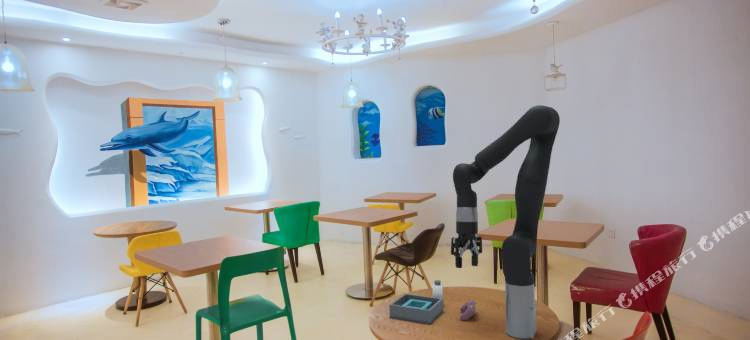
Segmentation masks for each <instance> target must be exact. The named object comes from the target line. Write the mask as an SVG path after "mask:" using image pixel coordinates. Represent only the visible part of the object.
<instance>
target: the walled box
mask: <svg viewBox="0 0 750 340" xmlns="http://www.w3.org/2000/svg"><path fill="white" fill-rule="evenodd" d="M388 306H389V319H393V320H400V321H406V322H413V323H417V324H425V325H429V326H430V325H431V324H433V323H434V322H435V321H436V319H437V318H439V317H440V315H442V314H443V313H444V311H445V310H444V298H443V299H442V298H435V297H433V296H426V295H420V294H419V295H418V294H412V293H411V294H410V293H404V294H402V295H401V296H400V297H398V298H397V299H395V300H394V301H393V302H391V303H390V304H389V305H388Z"/></svg>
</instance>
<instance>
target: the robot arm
mask: <svg viewBox="0 0 750 340" xmlns="http://www.w3.org/2000/svg"><path fill="white" fill-rule="evenodd" d="M560 123H561V121H560V115H559V113H558V111H557V110H556V109H555V108H553V107H551V106H547V105H534V106H532V107H530V108H529V109H528V110H527V111H525V112H524V114H522V116H521V117H520V118H519V119H518V120H517V121H516V122H515V123H514V124H513V125H512V126H511V127H510V128H508V129H507V130H506V131H505V132H504V133H503V134H502V135H500V136H499V137H498V138H497V139H495V140H494V141H493V142H491V143H490V144H488V145H487V146H485V148H483V149H482V150H480V151H478V152H477V153H476V154H475V156H474V161H473V162H471V163H465V162H464V163H461V162H460V163H459V164H457V165H456V166H454V169H453V172H452V180H453V181H452V182H453V187H454V189H455V194H456V212H455V233H456V234H457V235H458V236H457V237H451V241H450V255H452V256H454V257H455V258H454V260H455V268H456V269H462V268H463V255H464V253H465V252H466V251H467V250H469V251H470V253H471V266H472V267H478V265H479V255H480V254H482V253H483V237H482V236H480V235H478V232H479V228H478V227H479V220H478V219H479V213H478V195H477V193H476V191H474V190H473V188H472V184H476V183H478V182H479V181H480V180H482V179H483V178H484V177H485V176H486V174H488V172H489V171H490V170H491V169H493V168H495V167H496V166H498V165H499V164H501V163H502V162H503V161H504V160H506V159H507V158H508V157H509V156H510V155H511V153H512V152H513V151H514V150H515V149H517V148H518V147H519V146H521V145H522V144H523V143H524V142H526V141H529V140H530V141H529V146H528V149H527V153H526V155H525V157H524V160H523V161H522V163H521V165H520V167H519V170H518V174H517V177H516V182H515V189H514V191H515V192H514V201H515V202H514V203H515V210H516V218H515V224H514V228H513V231H512V234H511V235H509V236H508V237H506V238H505V239H504V240H503V242H502V245H501V265H502V267H501V268H502V273H503V277H504V296H505V298H504V299H505V301H504V302H505V305H504V306H505V333H506V334H507V335H508V336H510V337H513V338H517V339H525V340H526V339H532V340H533V339H535V336H536V333H537V305H536V303H535V275H534V273H532V271H531V269H532V268H531V258H532V257H533V256H534V255H535V254H536V251H537V245H538V244H537V243H538V229H539V221H540V216H541V213H542V209H543V203H544V200H545V195H546V189H547V185H548V184H547V183H548V177H549V172H550V166H551V159H552V158H551V157H552V152H553V148H554V145H555V141H556V138H557V134H558V131H559V127H560ZM476 235H477V236H476Z"/></svg>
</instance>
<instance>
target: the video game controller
mask: <svg viewBox="0 0 750 340" xmlns="http://www.w3.org/2000/svg"><path fill="white" fill-rule="evenodd" d="M476 309H477V308H476V301H475V299H469V300H467V301H466V302H465V303H464V304H462V306H460V307H459V311H460V312H461V314H460V316H459V320H460V321H467V320H468V319H469V320H470V319H471V318H472V317H473V316H474V315H476V314H477V310H476Z"/></svg>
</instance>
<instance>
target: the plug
mask: <svg viewBox="0 0 750 340" xmlns="http://www.w3.org/2000/svg"><path fill="white" fill-rule="evenodd" d="M443 287H444V284H443V283H441V280H439V279H436V280H434V282H433V284H432V297H435V298H442V299H443V300H444V288H443Z"/></svg>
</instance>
